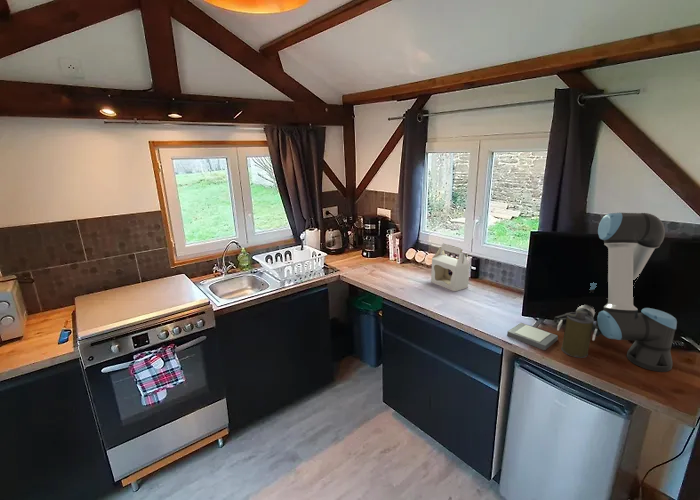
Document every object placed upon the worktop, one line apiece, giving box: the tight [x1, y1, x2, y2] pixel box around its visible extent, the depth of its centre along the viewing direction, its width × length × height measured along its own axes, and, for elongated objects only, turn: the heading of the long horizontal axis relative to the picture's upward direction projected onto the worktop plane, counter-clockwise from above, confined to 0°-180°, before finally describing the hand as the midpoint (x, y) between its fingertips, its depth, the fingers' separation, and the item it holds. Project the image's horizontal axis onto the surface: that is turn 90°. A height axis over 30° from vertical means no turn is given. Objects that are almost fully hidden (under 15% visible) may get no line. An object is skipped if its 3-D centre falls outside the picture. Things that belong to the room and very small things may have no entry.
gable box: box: [430, 242, 471, 292], centre depth 242 cm, size 22×13×28 cm, turn 32°
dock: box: [506, 322, 559, 351], centre depth 175 cm, size 18×14×3 cm
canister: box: [561, 309, 595, 359], centre depth 161 cm, size 11×10×20 cm
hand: (575, 332), depth 159 cm, fingers open, 13 cm apart
